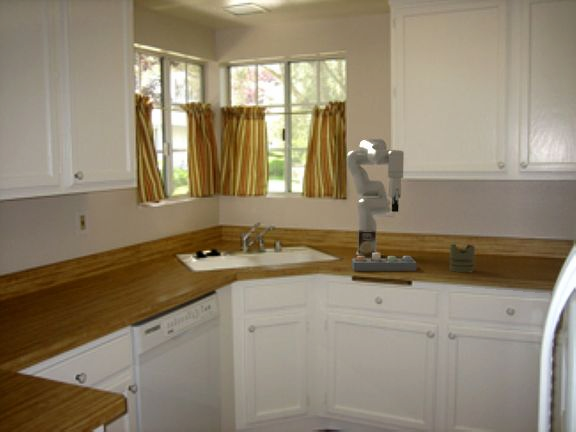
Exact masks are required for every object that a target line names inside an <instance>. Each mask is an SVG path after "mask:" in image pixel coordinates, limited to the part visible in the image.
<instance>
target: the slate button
mask: <svg viewBox="0 0 576 432" xmlns="http://www.w3.org/2000/svg"><path fill="white" fill-rule="evenodd" d="M402 258H403V261H411V258H412V256H411V255H402Z"/></svg>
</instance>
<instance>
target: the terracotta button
mask: <svg viewBox="0 0 576 432" xmlns="http://www.w3.org/2000/svg"><path fill="white" fill-rule="evenodd" d="M356 258H357V261H365V256H358V255H357V256H356Z"/></svg>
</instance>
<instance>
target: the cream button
mask: <svg viewBox="0 0 576 432" xmlns="http://www.w3.org/2000/svg"><path fill="white" fill-rule="evenodd" d="M381 254H382V253H381V252H379V253H372V261H380V260H381V256H382V255H381Z"/></svg>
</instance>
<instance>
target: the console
mask: <svg viewBox="0 0 576 432" xmlns="http://www.w3.org/2000/svg"><path fill="white" fill-rule="evenodd" d="M417 263H418V262H416V260H415V259H413V258H412V257H411V261H403V257H401V258H400V257H399V258H397V257H396V261H388V257H386V258H381V260H380V261H372V258H365V261H357V257H354V258H353V257H352V258H351V268H352V270H353V271H354V272H359V271H360V272H364V271H365V272H369V271H370V272H375V271H376V272H377V271H378V272H379V271H380V272H382V271H384V272H388V271H389V272H392V271H393V272H394V271H395V272H403V271H405V272H406V271H408V272H410V271H411V272H412V271H413V272H416V271H417V269H418V267H417V266H418V265H417Z"/></svg>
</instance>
